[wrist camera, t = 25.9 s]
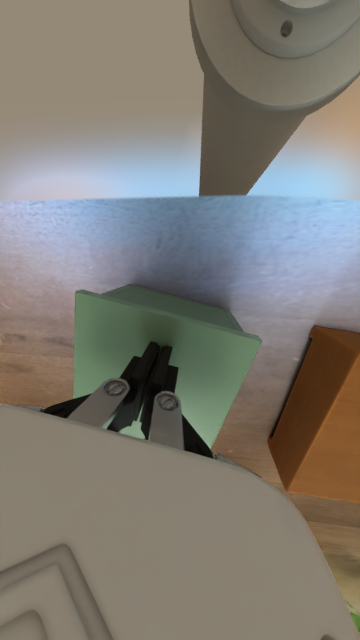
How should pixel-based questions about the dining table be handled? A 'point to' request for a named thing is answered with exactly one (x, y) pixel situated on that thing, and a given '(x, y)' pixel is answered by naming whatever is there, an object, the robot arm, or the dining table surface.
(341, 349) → the wooden box
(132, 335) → the lid
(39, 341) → the dining table surface
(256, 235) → the dining table surface
